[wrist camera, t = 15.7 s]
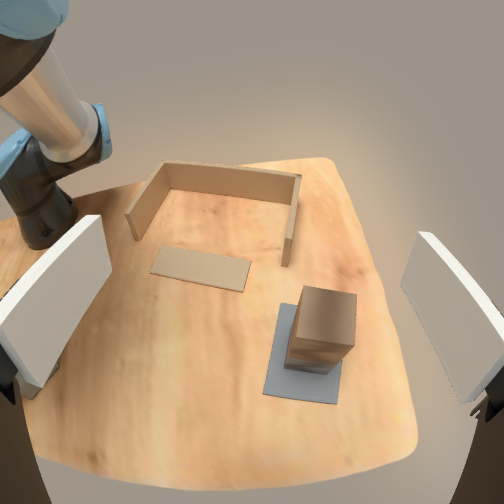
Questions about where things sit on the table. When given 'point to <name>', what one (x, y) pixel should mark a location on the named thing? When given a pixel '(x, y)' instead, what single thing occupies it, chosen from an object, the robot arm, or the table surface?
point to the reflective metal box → (321, 330)
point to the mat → (297, 381)
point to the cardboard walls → (215, 182)
